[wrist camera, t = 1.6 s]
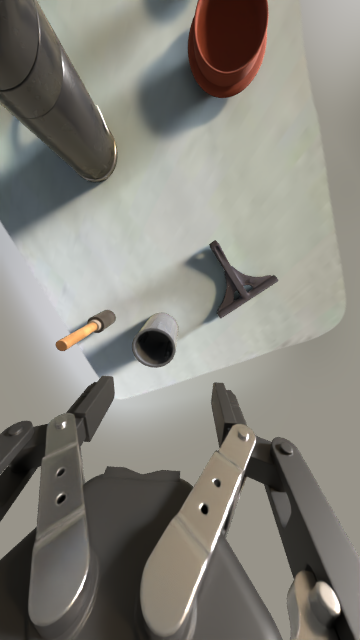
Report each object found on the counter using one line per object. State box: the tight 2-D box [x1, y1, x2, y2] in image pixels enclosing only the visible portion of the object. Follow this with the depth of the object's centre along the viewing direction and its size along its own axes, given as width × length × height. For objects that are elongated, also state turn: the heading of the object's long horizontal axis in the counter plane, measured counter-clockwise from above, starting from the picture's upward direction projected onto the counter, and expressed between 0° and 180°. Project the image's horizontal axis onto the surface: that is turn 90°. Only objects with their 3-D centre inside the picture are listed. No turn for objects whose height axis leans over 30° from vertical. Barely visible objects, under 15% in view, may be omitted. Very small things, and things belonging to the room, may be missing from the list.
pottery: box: [188, 0, 268, 98], centre depth 24 cm, size 12×20×4 cm, turn 16°
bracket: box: [209, 240, 278, 318], centre depth 35 cm, size 14×15×3 cm
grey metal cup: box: [132, 313, 178, 368], centre depth 36 cm, size 8×8×11 cm
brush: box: [56, 310, 116, 351], centre depth 33 cm, size 4×4×16 cm
